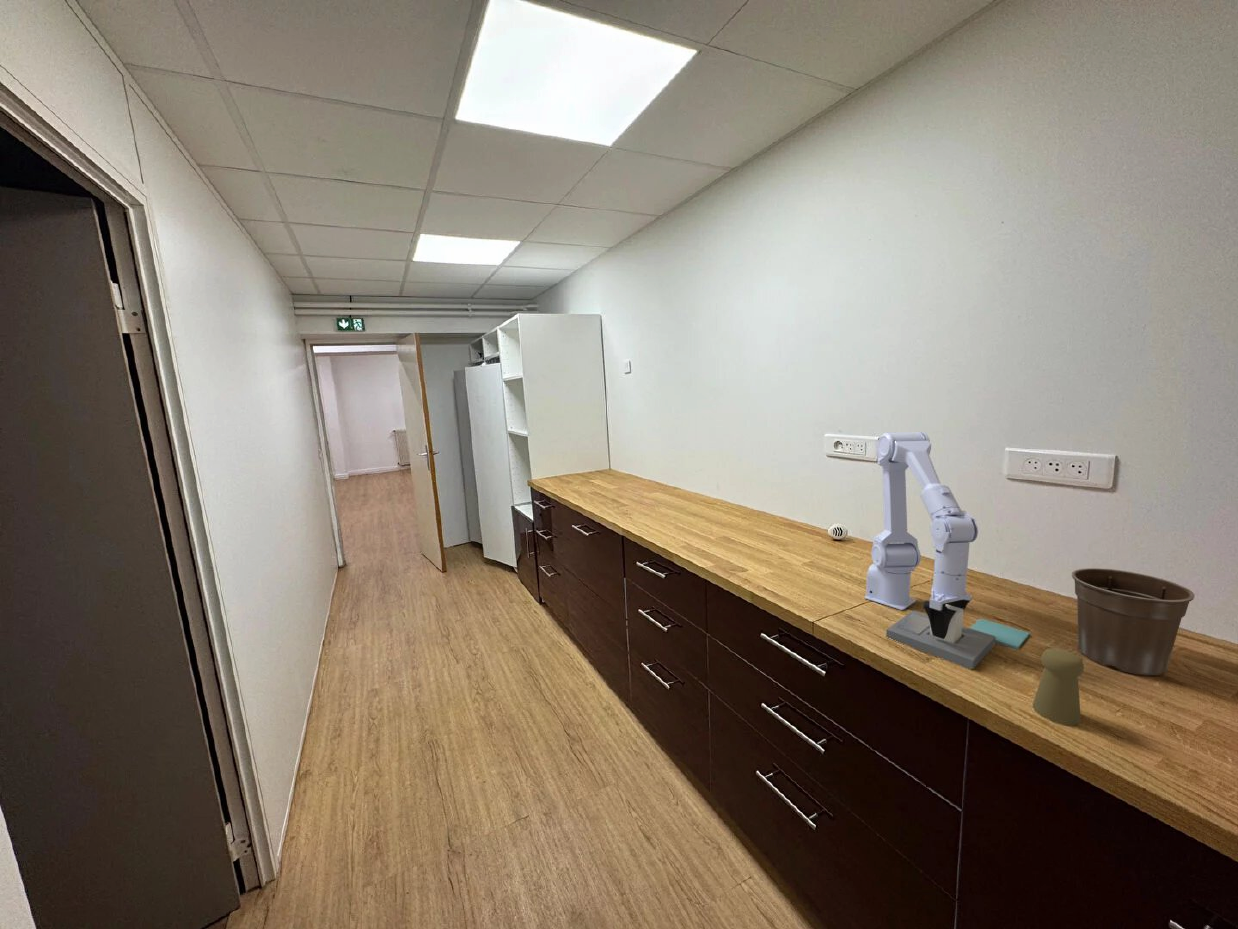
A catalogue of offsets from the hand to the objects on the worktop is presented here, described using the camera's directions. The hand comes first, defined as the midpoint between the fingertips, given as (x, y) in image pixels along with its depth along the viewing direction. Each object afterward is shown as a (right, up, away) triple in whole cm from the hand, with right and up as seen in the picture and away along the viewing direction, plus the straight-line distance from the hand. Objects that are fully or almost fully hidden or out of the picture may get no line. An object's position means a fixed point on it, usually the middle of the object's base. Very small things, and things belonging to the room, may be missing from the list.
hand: (945, 630), depth 101 cm
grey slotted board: (-1, -3, +1) cm, 3 cm away
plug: (0, -3, 0) cm, 3 cm away
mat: (+14, -2, +3) cm, 15 cm away
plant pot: (+30, -3, -7) cm, 31 cm away
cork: (+3, -6, -22) cm, 23 cm away
